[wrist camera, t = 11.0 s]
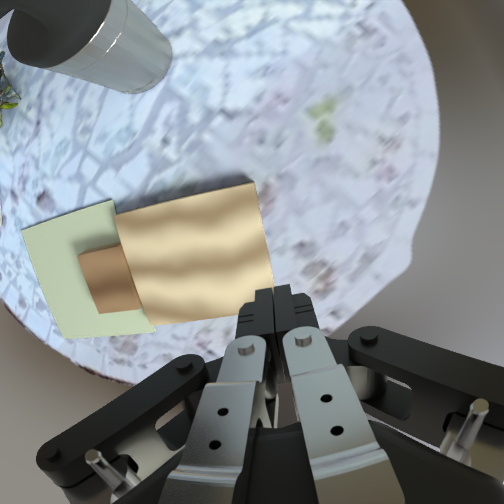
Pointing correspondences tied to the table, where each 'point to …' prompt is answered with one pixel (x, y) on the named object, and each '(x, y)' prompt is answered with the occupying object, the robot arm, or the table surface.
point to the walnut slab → (109, 279)
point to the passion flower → (6, 91)
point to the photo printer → (0, 215)
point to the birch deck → (197, 254)
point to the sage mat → (78, 272)
